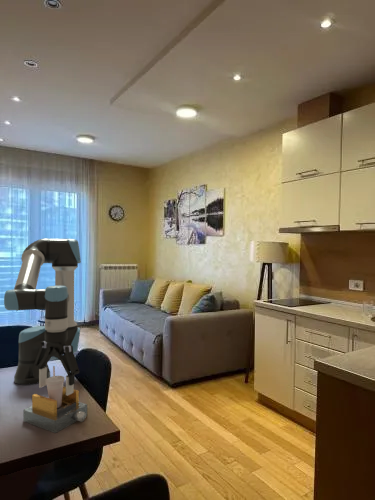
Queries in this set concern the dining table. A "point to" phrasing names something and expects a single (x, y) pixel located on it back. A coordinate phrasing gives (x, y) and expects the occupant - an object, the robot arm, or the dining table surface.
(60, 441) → the dining table surface
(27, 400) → the dining table surface
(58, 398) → the smoothie
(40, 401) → the vise
